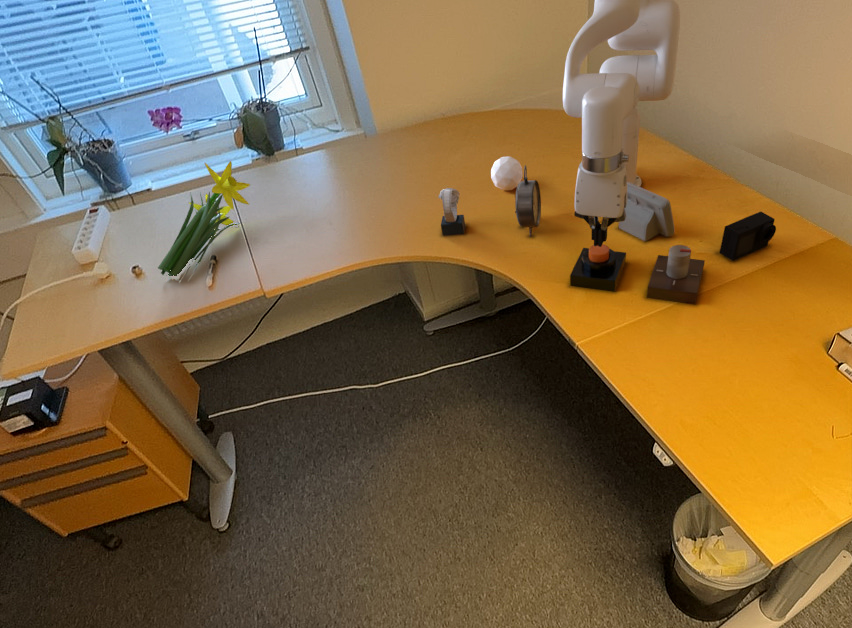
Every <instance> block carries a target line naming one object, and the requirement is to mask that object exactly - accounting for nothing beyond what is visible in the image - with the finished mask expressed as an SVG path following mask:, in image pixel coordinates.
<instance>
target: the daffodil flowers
mask: <svg viewBox="0 0 852 628" xmlns="http://www.w3.org/2000/svg"><path fill="white" fill-rule="evenodd" d="M204 166H205V168H206V170H207V171H208V173H209V175H210V177H211V178H212V180H213V181H214V182H215V185H213V186H212V188H211V191H209V192H208V193H205V195H204V196H205V197H204V198H205V203H204V200H203V197H202V193H201V192H199V195H200V203H201V204H198V203H194V198H193V194H192V192H191V191H190V192H189V194H190V202H188V204H189V205H190V206H189V208H188V212H187V215H186V217H185V218H184V221H183V224H182V226H181V228H180V230H179V232H178V234H177V237H176V238H175V239H174V241H173V244H172V246H171V247H170V249H169V251H168V252H167V253H166V255H165V257H164V258H163V259H162V260H161V262H160V264H159V265H158V266H157V269H158V270H161V271H160V274H161V275H162V276H164V275H165V274H166V273H167V274H168V273H169V274H168V275H169V276H173V275H174V276H177V274H179V273H180V272H181V271H182V269H183V268H184V267H185V266H186V264H187V263H188V261H189V260H190V259H192V258H194V259H193V260H196V259H197V258H198V259H197V260H198V261H197V260H196V261H197V263H199V262H200V263H201V261H202V259H203V258H204V255H205V254H206V252H207V250H208V247H209V246H210V245H211V244H212V243H213V241H215V239H216V238H217V237H218V236H219V235H221V234H222V232H224V231H225V230H227V229H228V228H231V227H230V226H233V225H240V224H241V222H235V221H234V220H232V219H231V218H230V216H227V214H229V213H230V212H231V210H232V211H234V208H235V207H234V200H235V201H236V202H238V203H240V204H243V205H244V204H245V205H247V206H248V205H250V203H249V202H248V201H247V200H246V198H244V196H242V195H241V193H239V192H240V191H243V190H245V189H246V188H249V187H250V186H251V184H250V183H247V182H241V181H238V180H236V178H235V177H234V176H232V174H233V173H232V170H233V169H232V168H233V163H232V161H231V160H230V161H229V162H228V163H227V165H226V166H225V168H224V170H223V172H222V173H221V174H220V175H221V176H220V175H219V174H218V173H217V172H216V171H214V169H212V168H211V167H210V165H208V163H206V162H204ZM211 193H212V195H211ZM222 199H224V202H225V203H226V205H224V206H221V207H220V204H221V202H222ZM194 210H195V214H194V216H193V217H192V214H193V212H194ZM191 217H192V219H191ZM233 222H235V224H231V223H233ZM229 224H230V225H229ZM220 225H223V226H224V227H223V228H219V227H220ZM227 225H228V226H227ZM214 229H215V230H214ZM216 232H217V233H216ZM215 234H216V235H215ZM214 235H215V236H214ZM211 236H212V237H211ZM210 238H211V239H210ZM200 263H199V264H200ZM170 270H171V271H170Z"/></svg>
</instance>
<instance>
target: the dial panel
mask: <svg viewBox="0 0 852 628" xmlns="http://www.w3.org/2000/svg"><path fill="white" fill-rule="evenodd" d="M705 261H706V260H704V259H697V258H690V262H689V268H688V274H687V276H686V277H684V278H682V279H673V278H670V277H669V276H668V275H667V274H666V270H667V263H668V255H662V254H658V255H657V257H656V261H655V263H654V267H653V269H652V273H651V275H650V279H649V281H648V285H647V290H646V299H653V300H659V301H666V302H671V303H672V302H673V303H680V304H686V305H696V302H697V298H698V294H699V290H700V285H701V282H702V281H701V280H702V276H703V272H704V268H705Z"/></svg>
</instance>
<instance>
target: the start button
mask: <svg viewBox="0 0 852 628" xmlns="http://www.w3.org/2000/svg"><path fill="white" fill-rule="evenodd" d="M588 248H589V260H590V261H592V262H598V263H599V262H605V261H607V260H608V259H609V249H610V247H609V246H608V245H607V244H604V243H603V244H602V246H601V247H599V246H598V245H597V246H594V244H592V245H590V247H588Z"/></svg>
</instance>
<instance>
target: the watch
mask: <svg viewBox="0 0 852 628" xmlns="http://www.w3.org/2000/svg"><path fill="white" fill-rule="evenodd" d="M438 199H440V200H441V201H442V209H443V215H442V217H441V220H440V227H441V228H440V229H441V233H442V236H443V237H444V236H459V235H460V236H461V235H465V230H466V221H465V220H466V219H465V214H458V205H459V199H460V191H459V190H458V189H456V188H452V187H445V188H443V189H441V190H440V192H439V194H438Z"/></svg>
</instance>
